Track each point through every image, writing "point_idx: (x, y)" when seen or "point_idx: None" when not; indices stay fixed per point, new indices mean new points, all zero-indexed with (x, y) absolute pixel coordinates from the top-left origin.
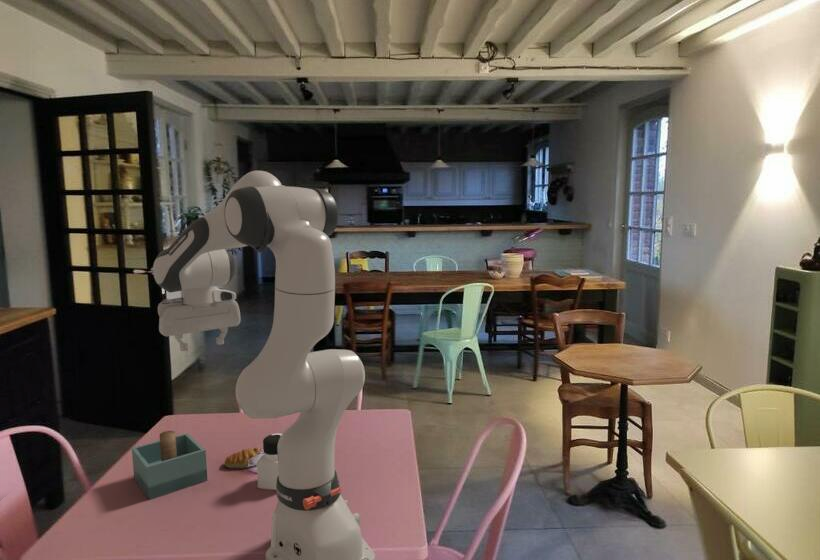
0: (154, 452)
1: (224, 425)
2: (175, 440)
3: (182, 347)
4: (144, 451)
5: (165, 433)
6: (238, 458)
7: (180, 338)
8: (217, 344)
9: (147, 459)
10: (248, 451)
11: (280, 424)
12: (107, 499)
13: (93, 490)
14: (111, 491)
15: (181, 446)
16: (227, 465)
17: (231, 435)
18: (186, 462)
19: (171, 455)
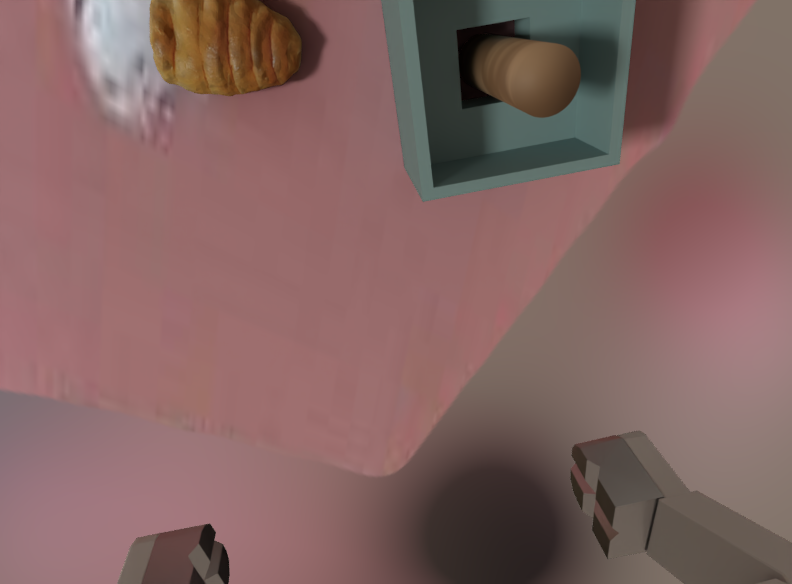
0: (534, 155)
1: (263, 372)
2: (507, 63)
3: (664, 460)
4: (572, 153)
5: (553, 91)
6: (246, 11)
7: (783, 579)
8: (221, 544)
9: (550, 147)
10: (198, 28)
11: (68, 307)
12: (665, 27)
13: (672, 117)
14: (640, 79)
15: (440, 172)
16: (293, 27)
17: (250, 295)
18: None
19: (512, 39)
